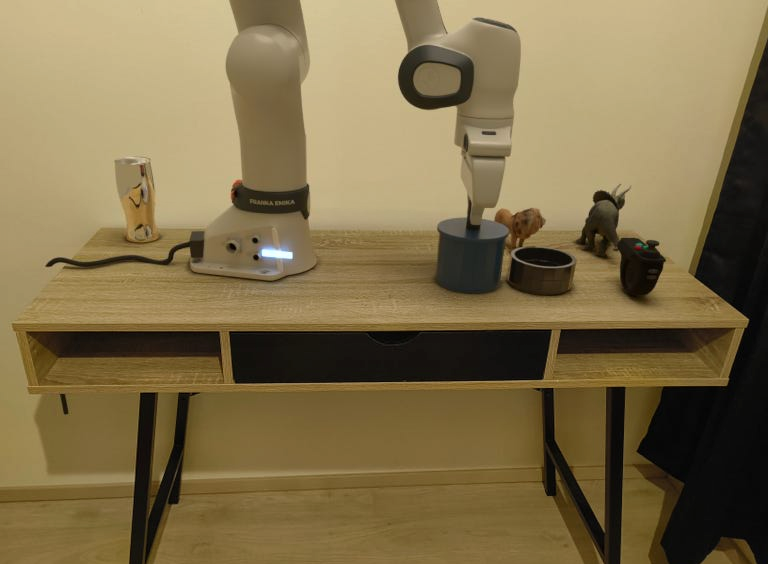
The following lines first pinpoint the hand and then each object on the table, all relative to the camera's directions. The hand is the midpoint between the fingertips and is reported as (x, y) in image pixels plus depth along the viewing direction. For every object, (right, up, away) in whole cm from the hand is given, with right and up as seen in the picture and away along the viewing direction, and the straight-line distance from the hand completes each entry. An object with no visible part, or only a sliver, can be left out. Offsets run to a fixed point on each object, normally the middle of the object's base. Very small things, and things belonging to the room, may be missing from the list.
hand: (473, 220), depth 113 cm
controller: (+28, -12, +3) cm, 30 cm away
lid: (0, -2, +1) cm, 2 cm away
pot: (0, -10, +5) cm, 11 cm away
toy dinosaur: (+28, -1, +23) cm, 36 cm away
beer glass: (-62, +1, +20) cm, 65 cm away
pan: (+12, -10, +5) cm, 17 cm away
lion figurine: (+11, -1, +23) cm, 25 cm away
